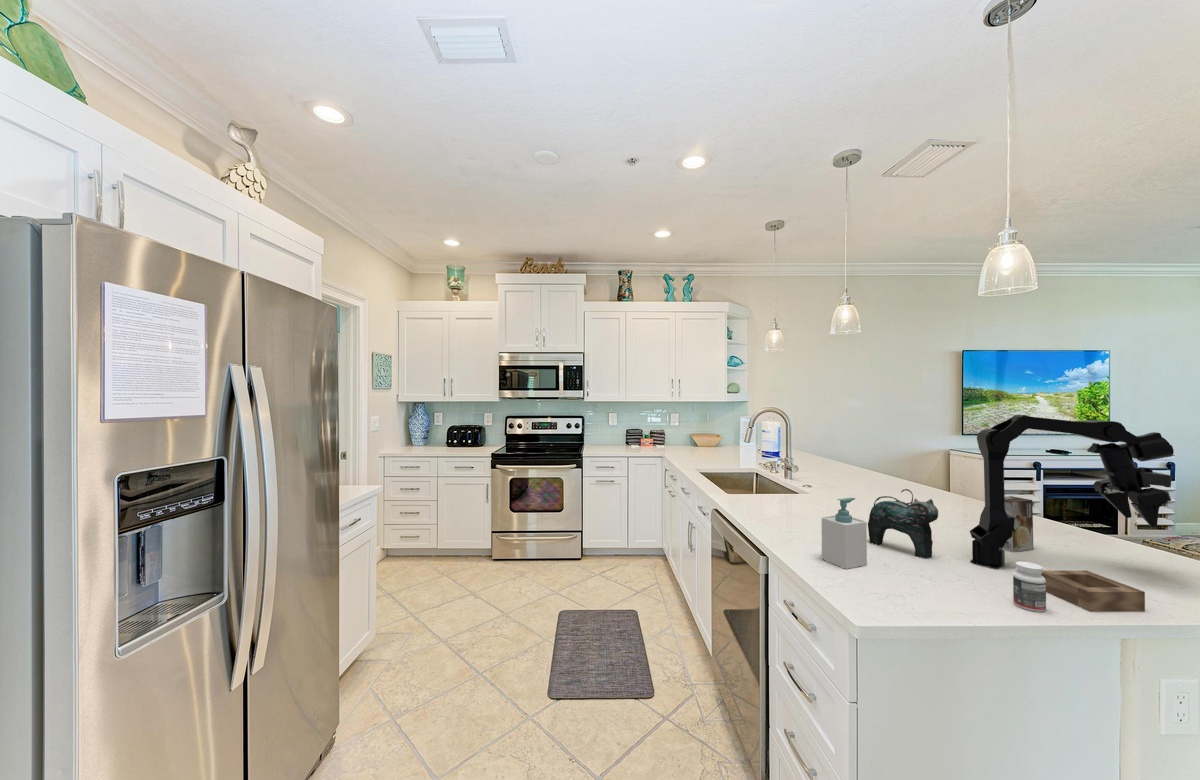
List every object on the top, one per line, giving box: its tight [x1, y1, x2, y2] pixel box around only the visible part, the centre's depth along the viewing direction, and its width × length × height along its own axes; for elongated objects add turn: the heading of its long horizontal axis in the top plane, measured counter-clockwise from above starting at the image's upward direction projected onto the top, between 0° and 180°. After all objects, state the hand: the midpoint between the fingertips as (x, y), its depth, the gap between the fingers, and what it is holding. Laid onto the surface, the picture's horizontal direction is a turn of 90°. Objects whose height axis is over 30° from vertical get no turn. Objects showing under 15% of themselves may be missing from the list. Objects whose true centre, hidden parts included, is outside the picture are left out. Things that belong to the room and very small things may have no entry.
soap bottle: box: [821, 497, 868, 570], centre depth 138 cm, size 9×9×19 cm
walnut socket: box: [1041, 569, 1146, 612], centre depth 113 cm, size 13×13×4 cm
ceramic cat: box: [867, 488, 939, 560], centre depth 148 cm, size 20×6×20 cm, turn 28°
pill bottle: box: [1012, 561, 1047, 613], centre depth 109 cm, size 6×6×10 cm
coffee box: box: [1002, 495, 1034, 553], centre depth 149 cm, size 9×6×16 cm
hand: (1140, 521), depth 124 cm, fingers open, 9 cm apart
